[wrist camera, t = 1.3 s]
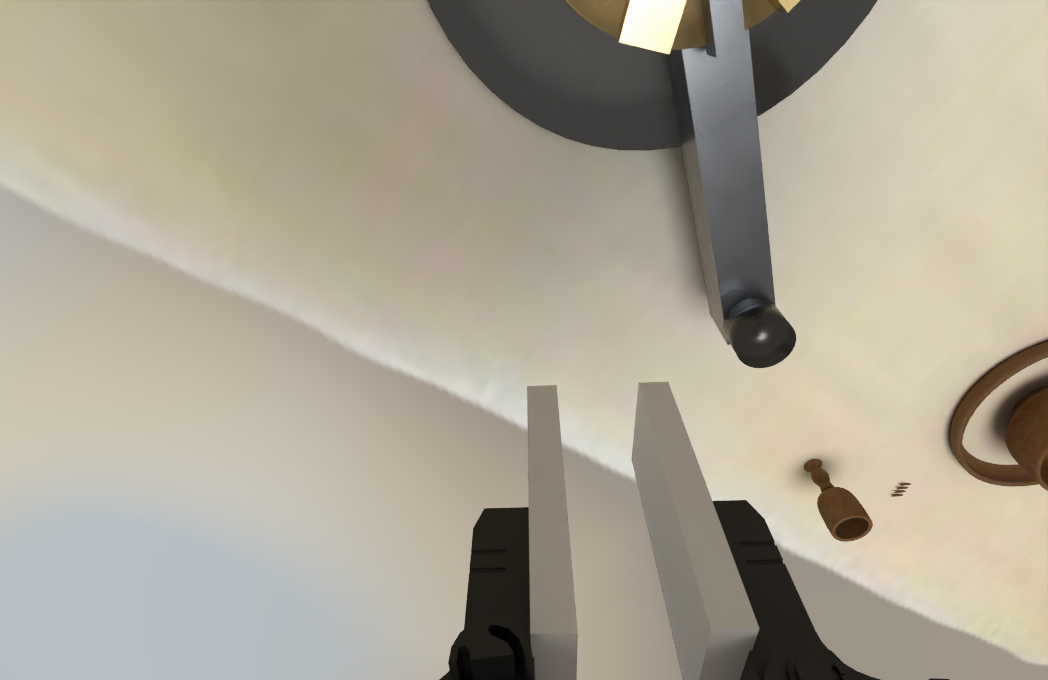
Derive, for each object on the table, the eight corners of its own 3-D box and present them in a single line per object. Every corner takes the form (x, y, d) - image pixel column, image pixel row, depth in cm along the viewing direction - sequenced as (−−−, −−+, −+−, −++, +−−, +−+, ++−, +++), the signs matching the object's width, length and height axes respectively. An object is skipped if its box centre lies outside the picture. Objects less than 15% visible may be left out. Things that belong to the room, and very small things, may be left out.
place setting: (1034, 504, 42) (1104, 575, 37) (779, 477, 40) (816, 547, 35) (1223, 299, 32) (1351, 356, 27) (902, 253, 31) (976, 304, 26)
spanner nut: (471, -271, 18) (455, -354, 14) (819, -436, 16) (928, -591, 12) (632, 338, 31) (650, 396, 26) (839, 282, 29) (895, 335, 25)
